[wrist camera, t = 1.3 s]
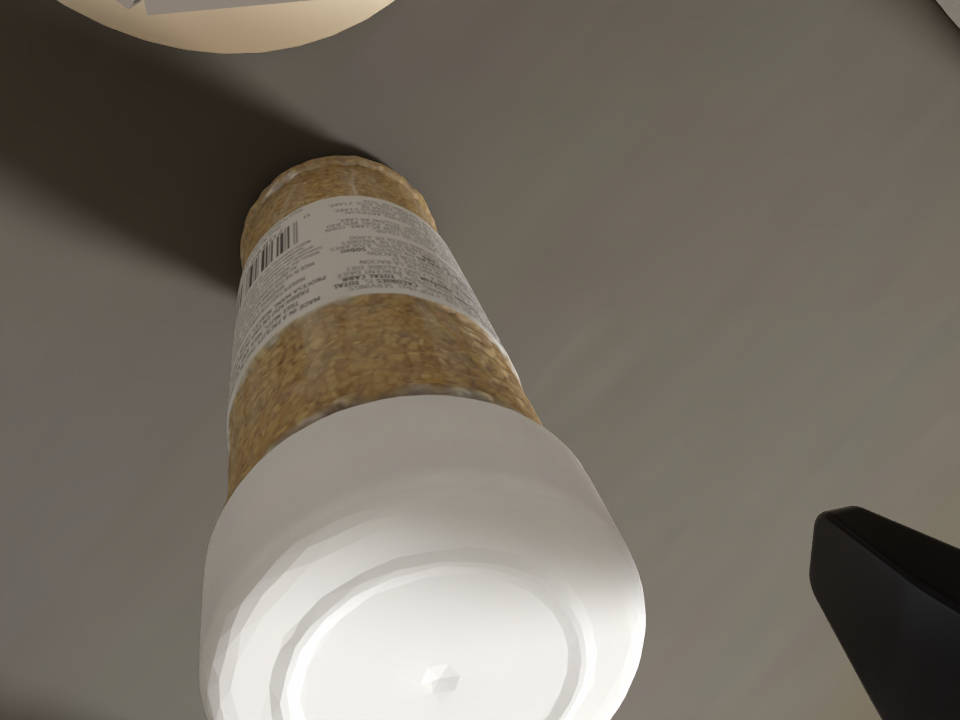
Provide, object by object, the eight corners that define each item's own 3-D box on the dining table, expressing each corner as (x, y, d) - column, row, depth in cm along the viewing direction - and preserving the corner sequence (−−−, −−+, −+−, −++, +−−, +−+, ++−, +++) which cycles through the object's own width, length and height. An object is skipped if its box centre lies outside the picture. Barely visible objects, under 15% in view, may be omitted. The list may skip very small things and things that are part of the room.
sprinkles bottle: (341, 372, 22) (424, 901, 10) (195, 246, 20) (80, 727, 8) (478, 246, 21) (741, 654, 9) (342, 102, 19) (457, 394, 7)
